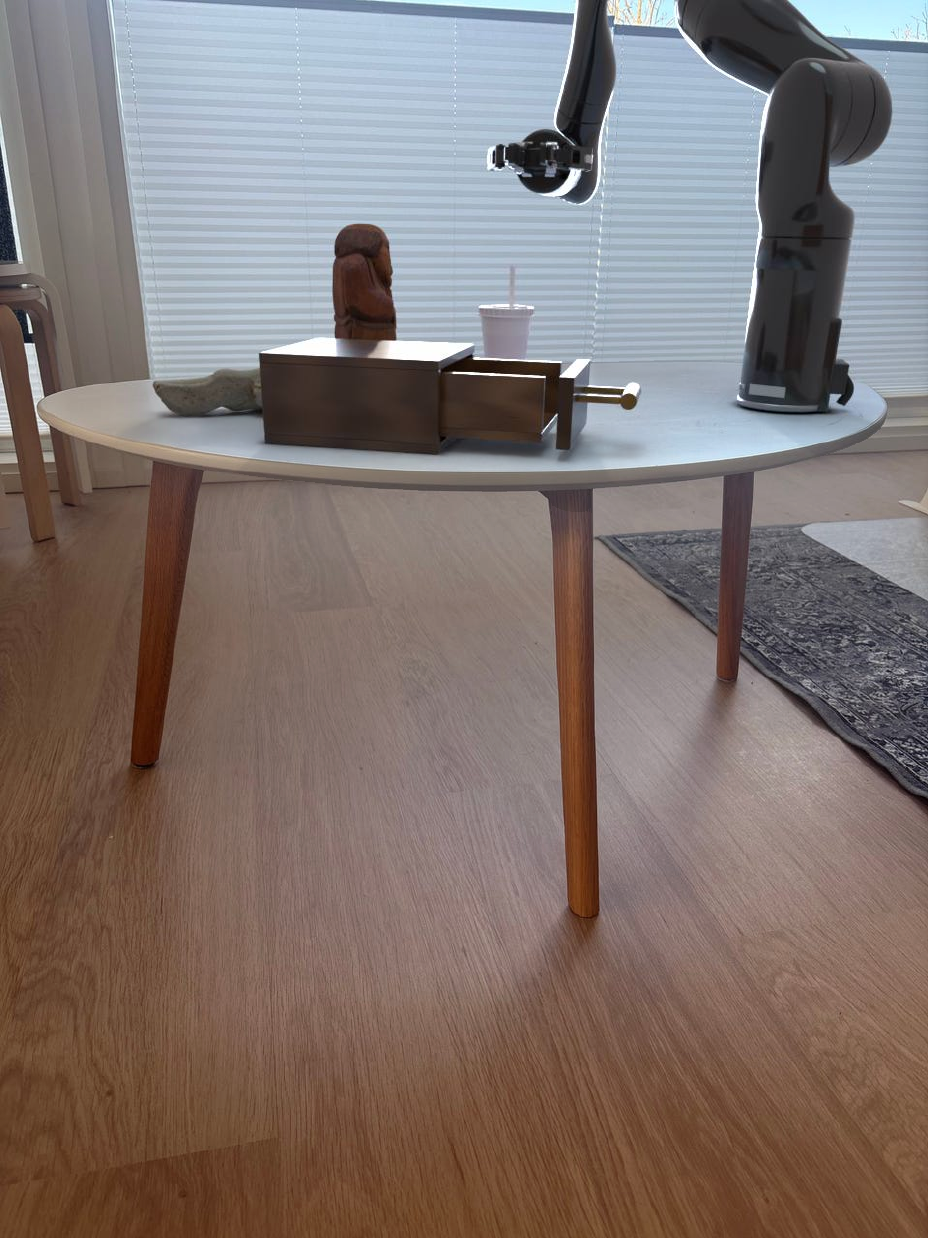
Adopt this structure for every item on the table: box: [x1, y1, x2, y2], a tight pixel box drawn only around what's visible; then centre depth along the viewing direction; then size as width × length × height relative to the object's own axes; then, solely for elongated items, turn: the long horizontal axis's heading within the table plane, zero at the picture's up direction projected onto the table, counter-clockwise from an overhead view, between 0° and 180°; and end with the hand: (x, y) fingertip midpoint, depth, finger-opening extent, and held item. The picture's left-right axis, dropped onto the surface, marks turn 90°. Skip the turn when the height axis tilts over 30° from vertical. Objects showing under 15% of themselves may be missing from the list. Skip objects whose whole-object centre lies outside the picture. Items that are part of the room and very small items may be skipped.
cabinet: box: [258, 337, 475, 455], centre depth 84 cm, size 16×14×8 cm
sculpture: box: [152, 367, 262, 417], centre depth 94 cm, size 7×5×15 cm
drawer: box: [440, 357, 642, 451], centre depth 81 cm, size 19×12×6 cm, turn 77°
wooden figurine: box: [331, 223, 398, 341], centre depth 101 cm, size 12×6×18 cm, turn 15°
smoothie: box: [477, 265, 535, 360], centre depth 106 cm, size 6×6×14 cm
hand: (527, 152), depth 108 cm, fingers open, 3 cm apart
